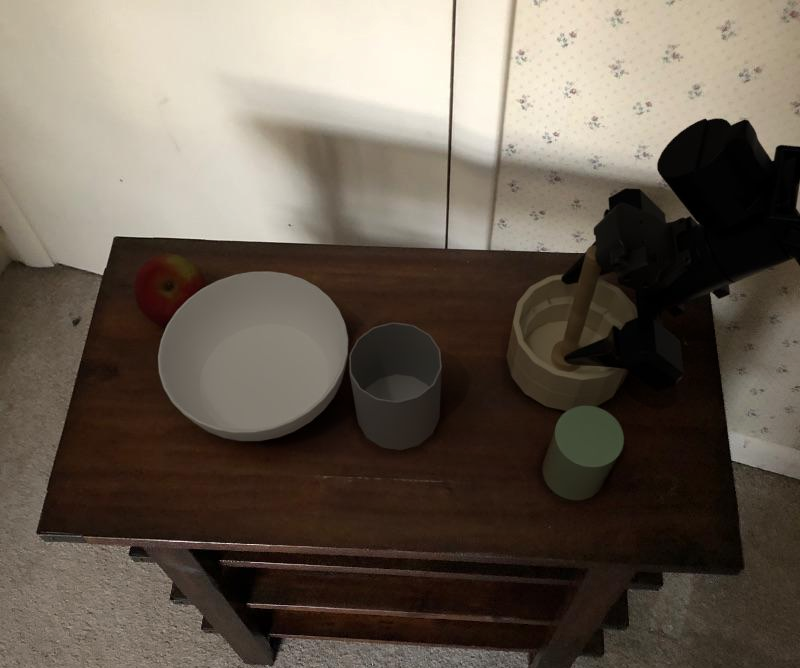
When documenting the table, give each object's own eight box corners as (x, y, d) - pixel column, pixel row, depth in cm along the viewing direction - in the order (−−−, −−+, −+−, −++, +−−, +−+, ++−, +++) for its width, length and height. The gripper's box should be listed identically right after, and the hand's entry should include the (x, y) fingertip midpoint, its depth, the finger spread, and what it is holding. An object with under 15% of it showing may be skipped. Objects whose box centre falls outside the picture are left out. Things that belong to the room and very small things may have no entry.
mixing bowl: (577, 296, 84) (589, 255, 78) (649, 378, 79) (668, 341, 73) (484, 345, 81) (489, 307, 75) (552, 433, 76) (564, 400, 70)
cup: (442, 447, 76) (444, 399, 67) (358, 452, 76) (350, 405, 67) (435, 374, 80) (437, 319, 71) (356, 378, 80) (348, 324, 71)
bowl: (341, 472, 75) (334, 440, 68) (159, 457, 76) (135, 424, 69) (364, 317, 83) (359, 276, 77) (200, 306, 84) (182, 265, 78)
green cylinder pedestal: (579, 433, 76) (595, 394, 69) (617, 480, 74) (638, 445, 66) (529, 461, 75) (541, 425, 68) (567, 511, 72) (582, 479, 65)
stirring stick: (569, 341, 80) (599, 232, 66) (587, 362, 79) (623, 256, 64) (544, 354, 80) (569, 247, 65) (562, 377, 78) (592, 273, 63)
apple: (138, 341, 82) (112, 297, 75) (158, 281, 86) (135, 233, 79) (207, 347, 82) (187, 303, 75) (224, 286, 86) (206, 239, 79)
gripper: (661, 113, 63) (511, 202, 73) (684, 298, 54) (510, 370, 64) (725, 186, 69) (580, 258, 80) (755, 362, 60) (587, 418, 71)
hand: (564, 319), depth 73 cm, fingers open, 9 cm apart
